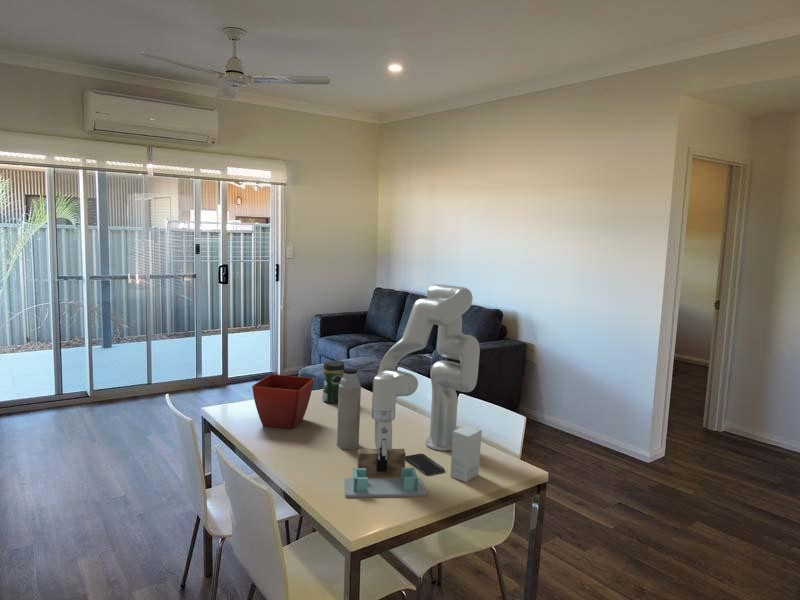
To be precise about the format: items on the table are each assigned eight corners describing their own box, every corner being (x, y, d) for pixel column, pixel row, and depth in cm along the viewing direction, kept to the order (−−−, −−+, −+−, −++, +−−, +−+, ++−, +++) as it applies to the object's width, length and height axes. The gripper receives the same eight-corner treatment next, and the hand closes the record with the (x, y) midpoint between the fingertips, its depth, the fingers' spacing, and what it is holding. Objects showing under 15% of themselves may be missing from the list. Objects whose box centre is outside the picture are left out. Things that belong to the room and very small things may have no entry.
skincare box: (463, 469, 186) (466, 424, 184) (480, 475, 182) (483, 429, 180) (449, 477, 179) (451, 430, 178) (466, 483, 175) (469, 435, 174)
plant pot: (297, 433, 212) (299, 390, 210) (250, 428, 215) (251, 385, 213) (313, 417, 231) (314, 377, 229) (269, 413, 234) (270, 374, 232)
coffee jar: (339, 397, 261) (340, 358, 259) (346, 402, 254) (347, 362, 252) (319, 399, 256) (321, 359, 254) (326, 404, 249) (327, 363, 247)
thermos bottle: (361, 442, 206) (364, 368, 202) (355, 450, 198) (358, 373, 195) (340, 440, 207) (343, 366, 204) (333, 447, 199) (336, 371, 196)
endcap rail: (420, 479, 176) (421, 465, 176) (426, 496, 165) (427, 480, 165) (344, 480, 173) (344, 466, 173) (345, 497, 162) (345, 481, 162)
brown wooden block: (402, 469, 184) (403, 448, 183) (404, 474, 180) (405, 453, 179) (357, 469, 182) (358, 448, 181) (358, 474, 178) (358, 453, 177)
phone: (422, 453, 196) (445, 469, 183) (422, 456, 196) (445, 472, 183) (402, 456, 192) (425, 473, 179) (402, 459, 193) (425, 476, 180)
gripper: (398, 422, 171) (395, 479, 173) (392, 405, 188) (389, 457, 190) (373, 422, 170) (371, 479, 172) (369, 405, 187) (367, 458, 189)
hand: (381, 467), depth 181 cm, fingers closed on brown wooden block, 4 cm apart
